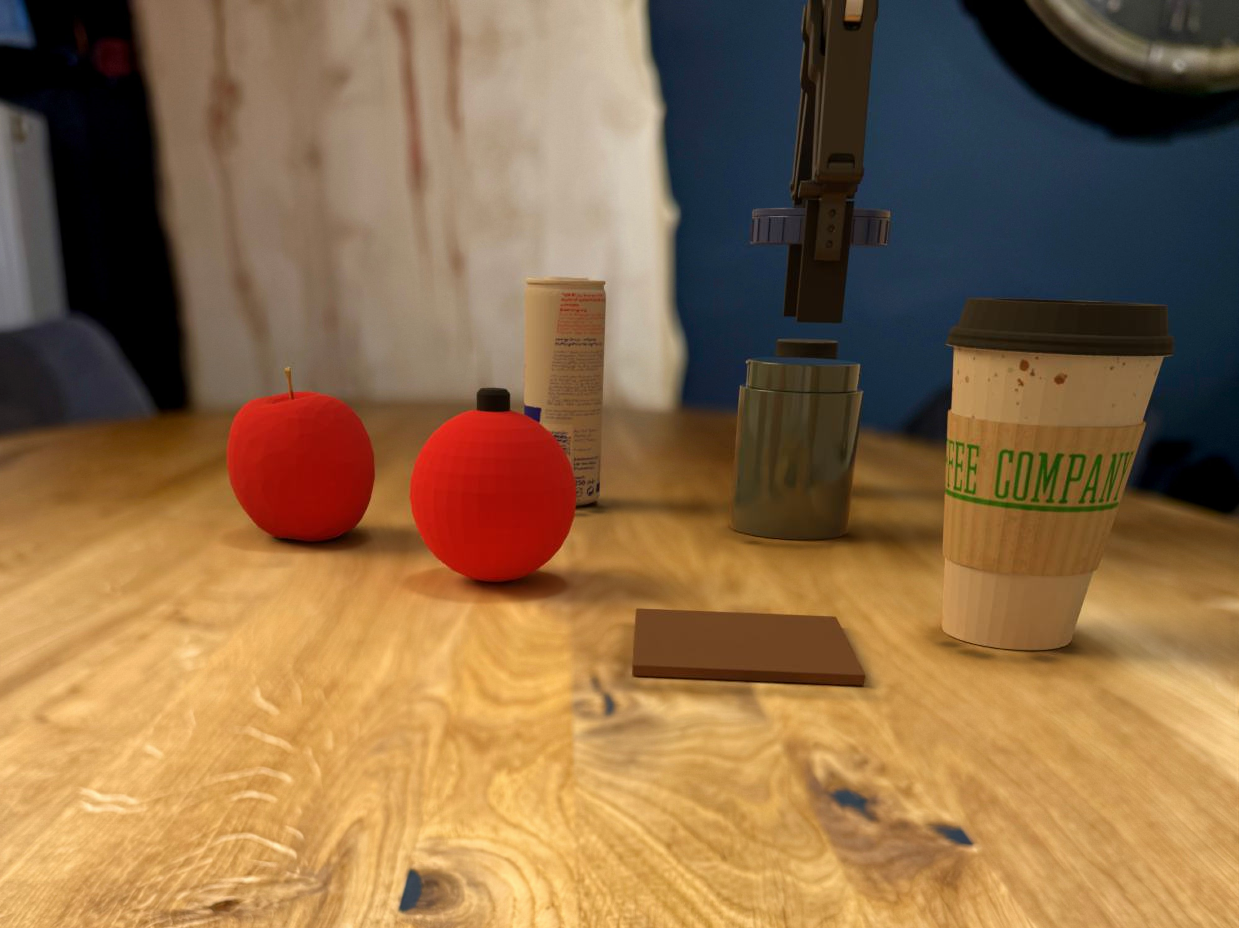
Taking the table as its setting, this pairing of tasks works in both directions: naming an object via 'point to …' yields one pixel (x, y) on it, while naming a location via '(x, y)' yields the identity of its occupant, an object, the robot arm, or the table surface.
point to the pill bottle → (807, 348)
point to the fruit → (301, 464)
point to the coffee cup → (1039, 458)
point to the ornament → (493, 492)
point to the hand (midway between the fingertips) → (810, 319)
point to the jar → (796, 448)
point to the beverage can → (567, 370)
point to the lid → (789, 227)
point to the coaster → (743, 647)
